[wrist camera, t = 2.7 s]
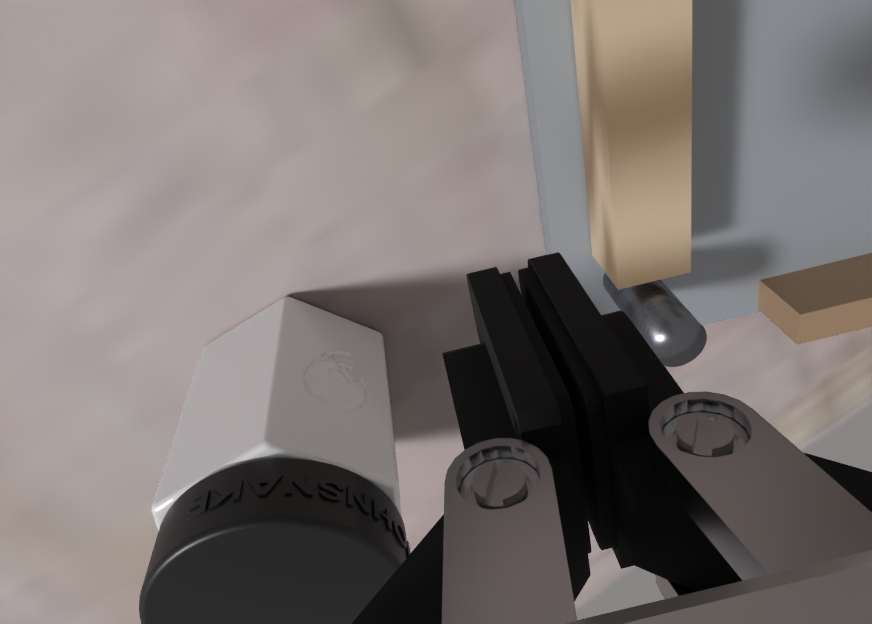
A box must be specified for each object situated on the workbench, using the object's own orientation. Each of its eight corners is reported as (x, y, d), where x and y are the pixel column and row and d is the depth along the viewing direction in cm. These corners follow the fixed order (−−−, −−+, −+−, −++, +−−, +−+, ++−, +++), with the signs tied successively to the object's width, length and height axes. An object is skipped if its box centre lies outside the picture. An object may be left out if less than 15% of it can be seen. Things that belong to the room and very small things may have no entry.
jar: (427, 344, 30) (474, 563, 20) (350, 467, 33) (355, 710, 23) (237, 268, 27) (175, 482, 17) (172, 412, 30) (87, 665, 20)
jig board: (501, -99, 21) (534, -103, 18) (1094, -241, 22) (1245, -273, 18) (557, 343, 31) (586, 399, 27) (970, 244, 31) (1052, 286, 27)
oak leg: (657, 238, 27) (690, 272, 25) (591, 254, 27) (618, 289, 25) (649, -96, 21) (692, -98, 18) (564, -76, 21) (595, -75, 18)
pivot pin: (601, 262, 28) (651, 327, 23) (647, 250, 28) (706, 314, 23) (604, 302, 29) (653, 372, 24) (649, 291, 29) (706, 359, 24)
